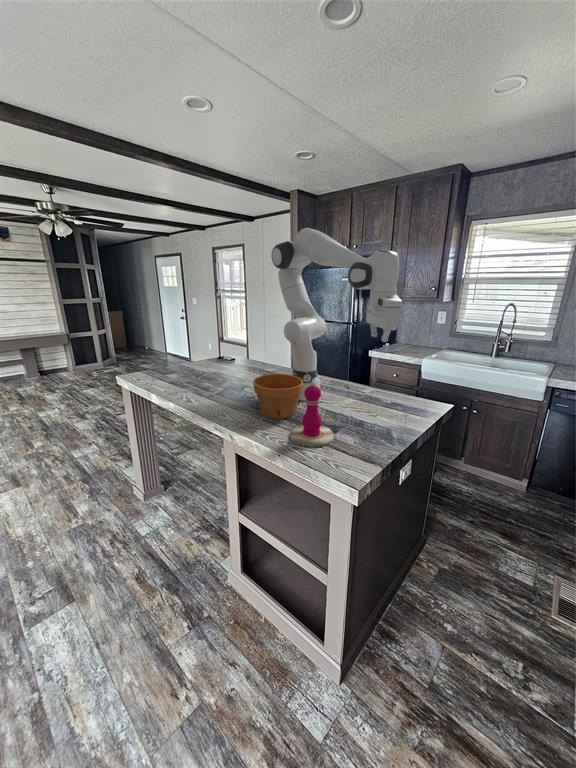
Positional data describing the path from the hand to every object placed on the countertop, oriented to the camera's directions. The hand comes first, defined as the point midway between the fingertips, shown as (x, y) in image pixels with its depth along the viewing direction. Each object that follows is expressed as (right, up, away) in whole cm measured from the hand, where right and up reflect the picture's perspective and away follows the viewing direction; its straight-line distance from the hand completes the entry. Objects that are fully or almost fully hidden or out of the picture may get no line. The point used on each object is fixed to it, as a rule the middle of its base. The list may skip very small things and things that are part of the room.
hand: (379, 339), depth 116 cm
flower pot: (-37, -29, +25) cm, 53 cm away
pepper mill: (-24, -35, +3) cm, 42 cm away
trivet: (-24, -36, +3) cm, 43 cm away
